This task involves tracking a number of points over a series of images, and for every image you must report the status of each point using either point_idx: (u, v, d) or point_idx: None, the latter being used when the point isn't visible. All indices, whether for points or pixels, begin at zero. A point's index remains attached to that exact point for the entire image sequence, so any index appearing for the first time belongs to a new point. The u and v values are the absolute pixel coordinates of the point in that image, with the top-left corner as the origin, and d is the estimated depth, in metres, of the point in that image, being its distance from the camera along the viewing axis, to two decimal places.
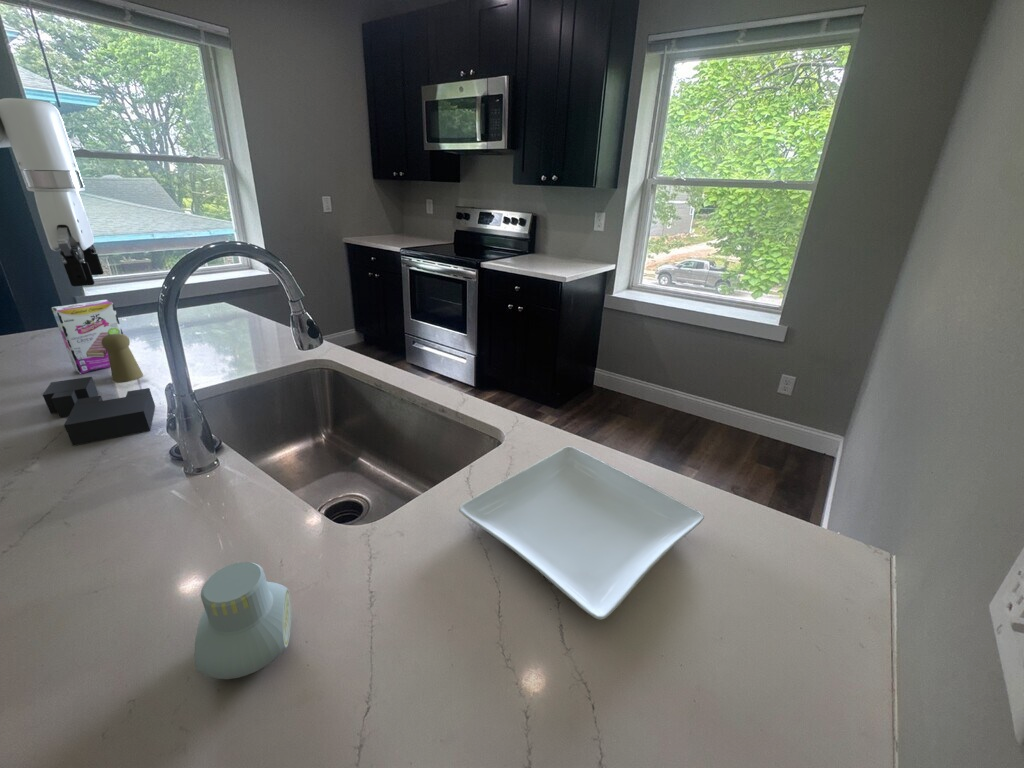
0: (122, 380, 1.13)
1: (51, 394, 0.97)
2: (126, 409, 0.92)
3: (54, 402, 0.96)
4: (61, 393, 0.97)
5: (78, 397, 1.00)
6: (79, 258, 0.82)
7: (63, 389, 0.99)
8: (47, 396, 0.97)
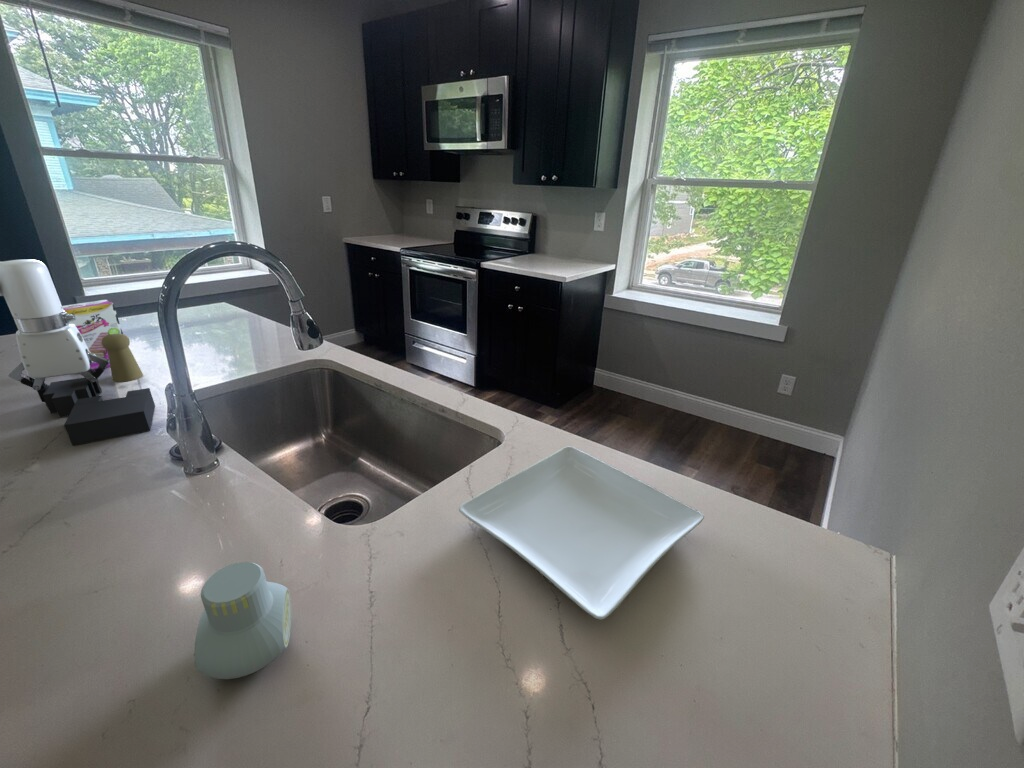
0: (122, 380, 1.13)
1: (51, 394, 0.97)
2: (126, 409, 0.92)
3: (54, 402, 0.96)
4: (61, 393, 0.97)
5: (78, 397, 1.00)
6: None
7: (63, 389, 0.99)
8: (47, 396, 0.97)
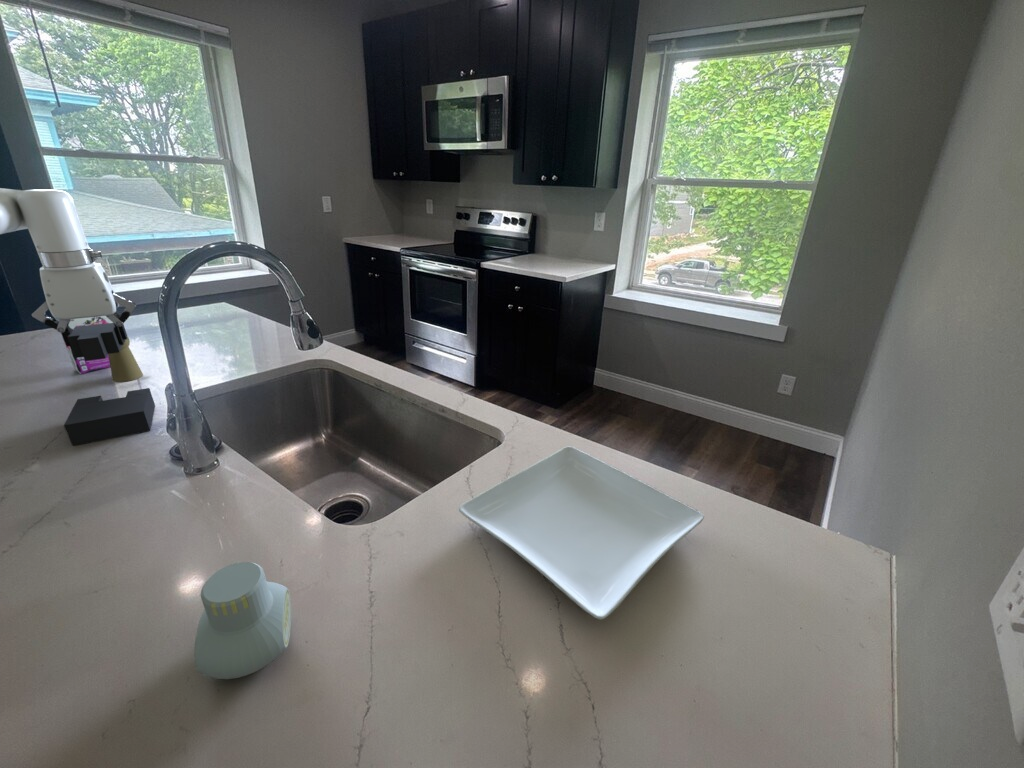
0: (122, 380, 1.13)
1: (76, 336, 0.92)
2: (126, 409, 0.92)
3: (80, 344, 0.91)
4: (87, 335, 0.92)
5: (104, 341, 0.95)
6: None
7: (88, 332, 0.94)
8: (72, 338, 0.92)
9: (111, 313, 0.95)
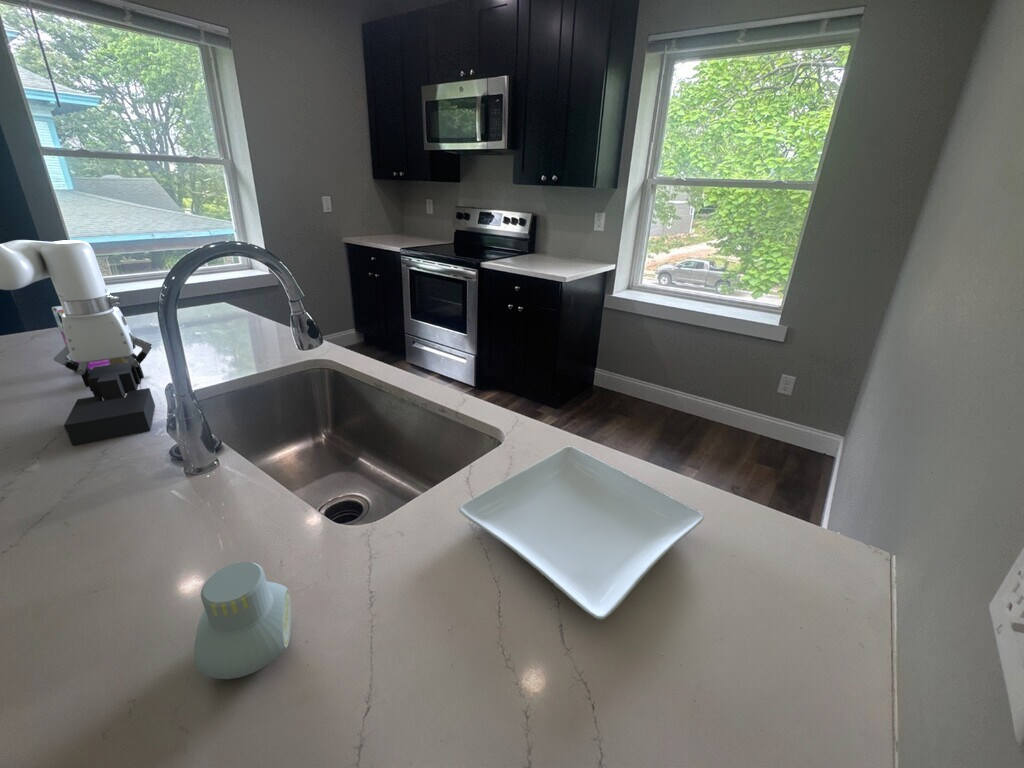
0: None
1: (96, 378, 0.96)
2: (126, 409, 0.92)
3: (99, 386, 0.94)
4: (106, 377, 0.96)
5: (122, 382, 0.98)
6: None
7: (107, 373, 0.98)
8: (91, 380, 0.96)
9: (129, 355, 0.99)
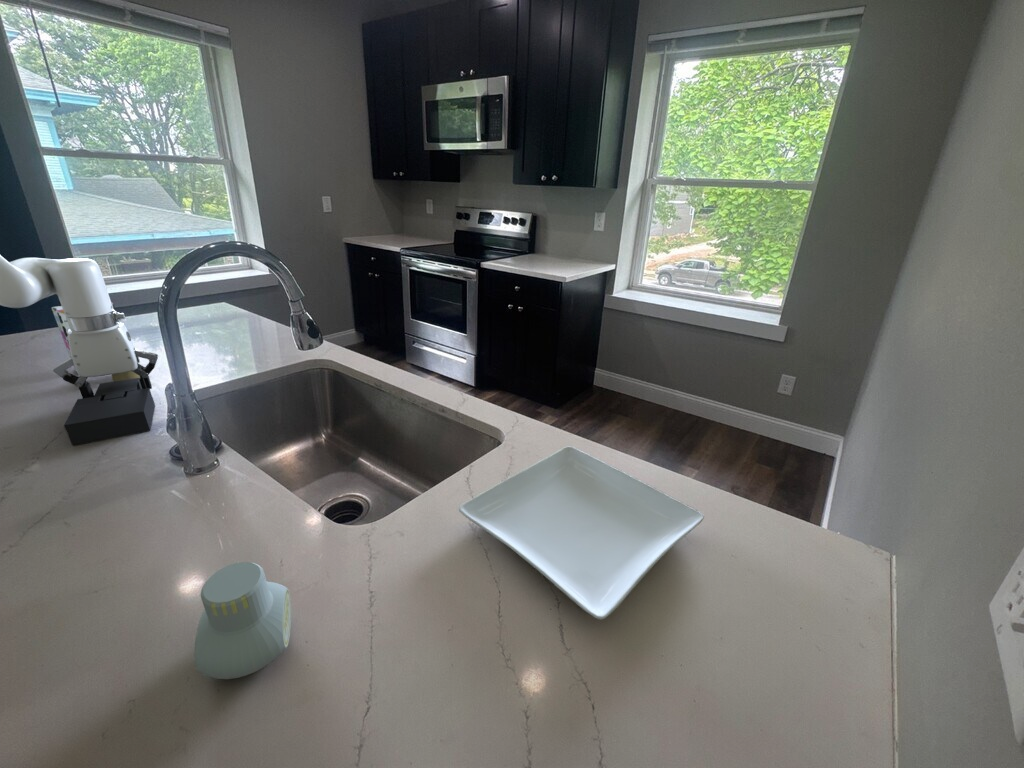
0: None
1: (102, 395, 0.98)
2: (126, 409, 0.92)
3: None
4: (112, 394, 0.98)
5: None
6: (75, 382, 0.96)
7: (113, 390, 0.99)
8: None
9: (133, 370, 1.00)
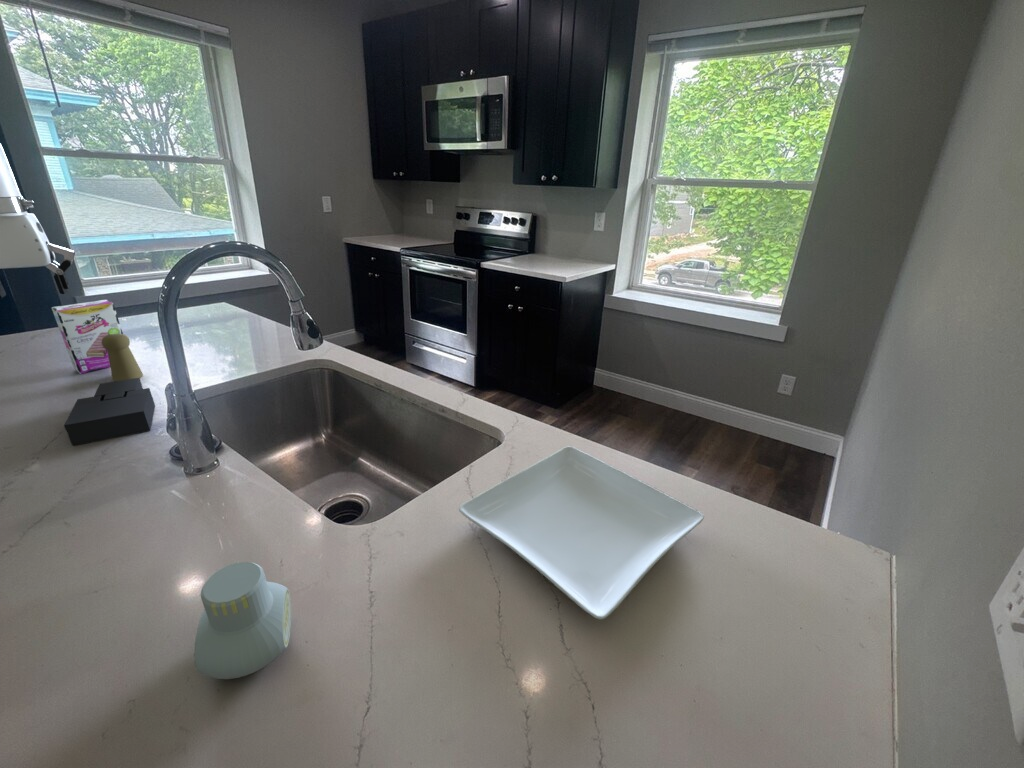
0: None
1: (102, 395, 0.98)
2: (126, 409, 0.92)
3: None
4: (112, 394, 0.98)
5: None
6: None
7: (113, 390, 0.99)
8: None
9: (45, 264, 0.94)
